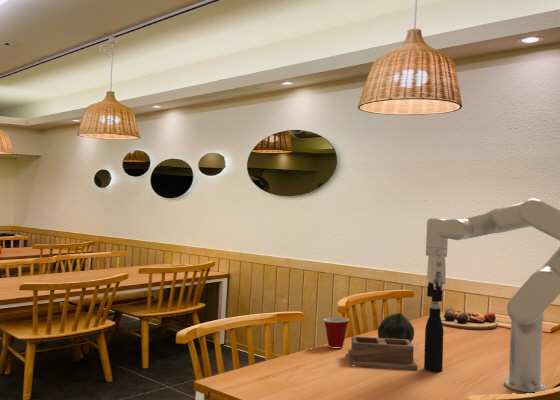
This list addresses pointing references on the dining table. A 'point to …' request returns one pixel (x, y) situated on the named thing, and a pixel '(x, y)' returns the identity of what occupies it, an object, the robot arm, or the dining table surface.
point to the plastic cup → (336, 331)
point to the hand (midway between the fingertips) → (434, 299)
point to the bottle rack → (382, 353)
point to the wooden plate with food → (468, 320)
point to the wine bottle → (433, 339)
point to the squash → (396, 328)
